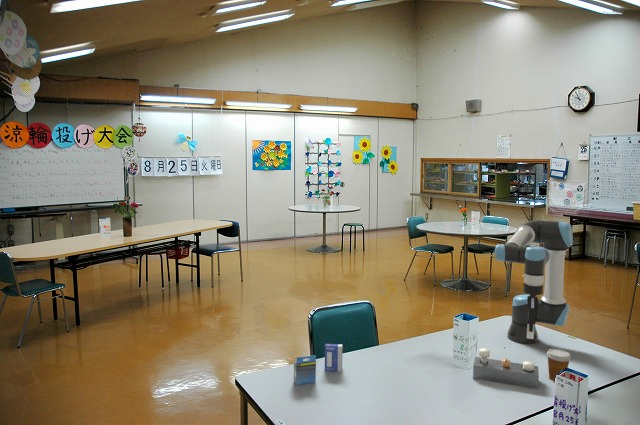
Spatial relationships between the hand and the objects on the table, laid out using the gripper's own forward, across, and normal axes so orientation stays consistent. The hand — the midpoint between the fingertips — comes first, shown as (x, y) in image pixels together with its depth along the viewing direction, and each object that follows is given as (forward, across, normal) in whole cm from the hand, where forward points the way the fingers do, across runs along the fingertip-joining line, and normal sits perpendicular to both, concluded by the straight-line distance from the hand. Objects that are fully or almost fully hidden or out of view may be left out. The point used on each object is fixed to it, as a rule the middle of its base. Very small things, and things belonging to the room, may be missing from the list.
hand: (530, 338), depth 210 cm
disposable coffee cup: (+20, -9, +12) cm, 25 cm away
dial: (+14, 0, -9) cm, 17 cm away
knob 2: (+19, 0, 0) cm, 19 cm away
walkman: (+20, +21, -81) cm, 86 cm away
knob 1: (+16, 0, -18) cm, 24 cm away
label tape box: (+20, +37, -88) cm, 98 cm away
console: (+20, 0, -9) cm, 22 cm away
